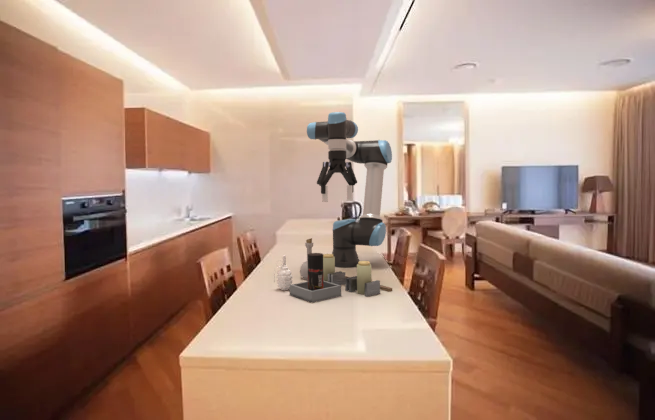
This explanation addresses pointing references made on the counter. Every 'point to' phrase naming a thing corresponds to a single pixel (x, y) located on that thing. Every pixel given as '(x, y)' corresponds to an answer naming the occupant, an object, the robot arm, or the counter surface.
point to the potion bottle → (305, 264)
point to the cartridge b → (363, 275)
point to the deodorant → (315, 271)
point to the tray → (315, 291)
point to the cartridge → (328, 265)
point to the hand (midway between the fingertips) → (337, 201)
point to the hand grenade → (284, 276)
